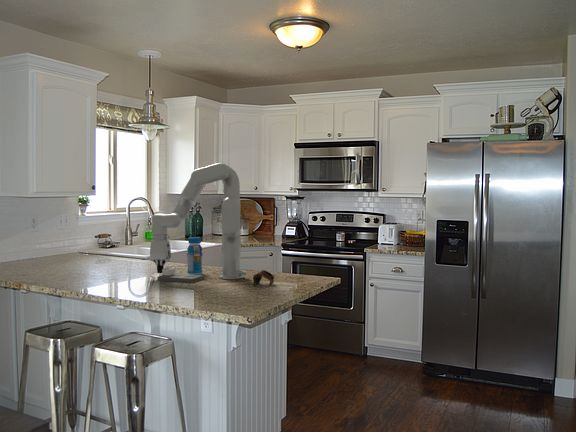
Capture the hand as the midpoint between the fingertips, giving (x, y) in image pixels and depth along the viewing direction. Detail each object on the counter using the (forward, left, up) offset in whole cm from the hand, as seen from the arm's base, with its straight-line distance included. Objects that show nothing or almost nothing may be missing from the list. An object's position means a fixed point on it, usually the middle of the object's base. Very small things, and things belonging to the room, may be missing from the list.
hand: (160, 272), depth 270 cm
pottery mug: (-57, +1, -3) cm, 57 cm away
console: (-12, 0, -3) cm, 12 cm away
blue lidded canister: (-10, -19, -3) cm, 22 cm away
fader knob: (-5, 0, -1) cm, 5 cm away
